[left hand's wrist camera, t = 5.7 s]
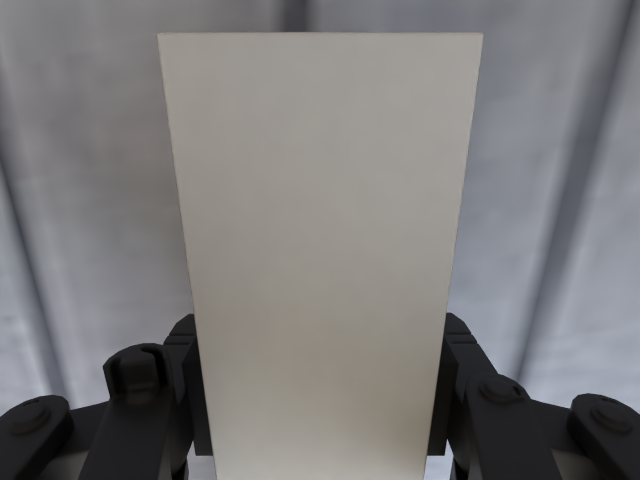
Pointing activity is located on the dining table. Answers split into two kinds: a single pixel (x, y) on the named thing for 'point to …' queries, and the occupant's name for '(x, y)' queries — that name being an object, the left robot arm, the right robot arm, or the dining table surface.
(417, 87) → the beam
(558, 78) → the dining table surface
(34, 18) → the dining table surface
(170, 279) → the dining table surface
